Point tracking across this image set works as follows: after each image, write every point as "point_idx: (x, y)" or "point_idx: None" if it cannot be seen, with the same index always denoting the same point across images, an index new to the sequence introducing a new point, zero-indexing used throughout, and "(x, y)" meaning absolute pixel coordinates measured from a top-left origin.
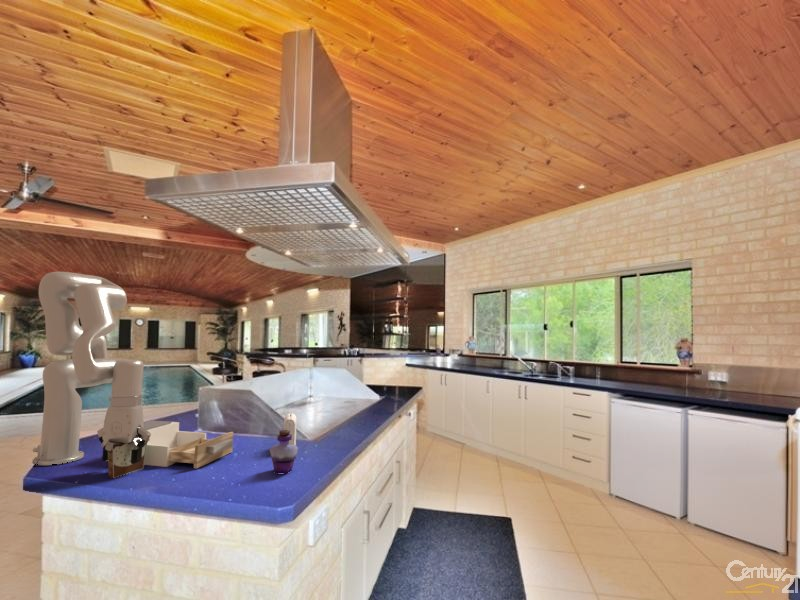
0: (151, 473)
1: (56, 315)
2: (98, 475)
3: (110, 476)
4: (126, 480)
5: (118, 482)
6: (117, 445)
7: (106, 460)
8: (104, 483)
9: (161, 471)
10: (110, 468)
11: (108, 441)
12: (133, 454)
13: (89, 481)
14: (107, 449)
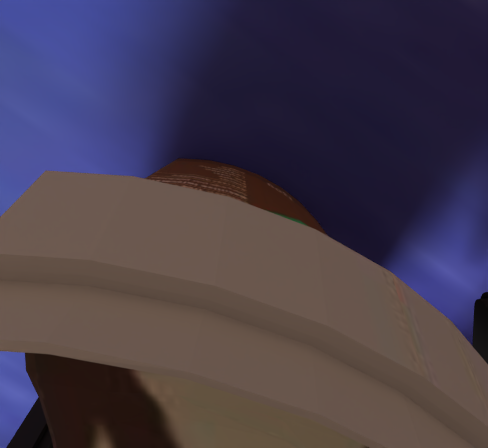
0: (24, 363)
1: None
2: (399, 172)
3: (220, 165)
4: (25, 173)
5: (32, 106)
6: (56, 409)
7: (481, 323)
8: (122, 31)
9: (5, 416)
10: (208, 175)
11: (330, 426)
12: (25, 421)
13: (321, 12)
14: (179, 197)
